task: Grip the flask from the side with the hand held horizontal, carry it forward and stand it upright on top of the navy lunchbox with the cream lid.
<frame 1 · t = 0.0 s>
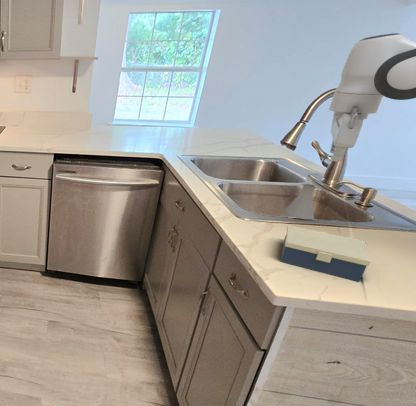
hand: (334, 156, 98), 21 cm above the worktop, tool pointing down, fingers open, 8 cm apart
flask: (298, 215, 113), on the worktop
lunchbox: (317, 261, 90), on the worktop
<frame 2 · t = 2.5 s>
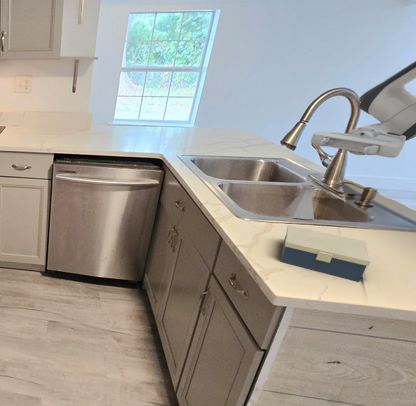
hand: (341, 146, 110), 20 cm above the worktop, tool horizontal, fingers open, 8 cm apart
nothing on the worktop moved.
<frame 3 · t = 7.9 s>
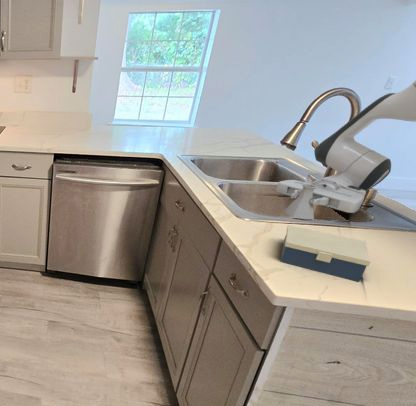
hand: (303, 199, 111), 6 cm above the worktop, tool horizontal, fingers closed on flask, 3 cm apart
flask: (298, 215, 113), on the worktop, touching gripper
when the fingers open (11 cm above the worktop, at t = 16.1 s): flask stays where it is, resting on lunchbox.
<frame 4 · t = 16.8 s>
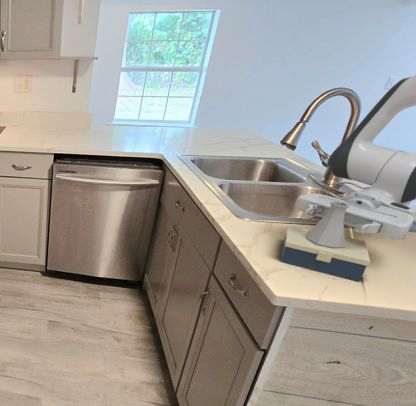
hand: (332, 221, 85), 11 cm above the worktop, tool horizontal, fingers open, 8 cm apart
flask: (324, 241, 88), point 5 cm above the worktop, touching lunchbox
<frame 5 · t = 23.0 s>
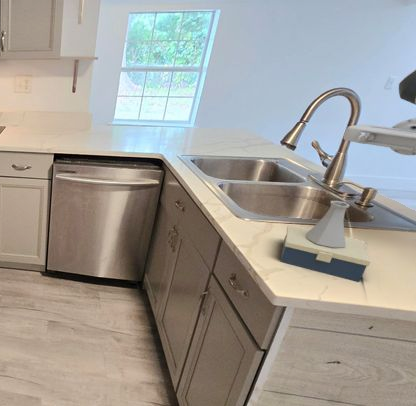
hand: (388, 144, 83), 28 cm above the worktop, tool horizontal, fingers open, 8 cm apart
nothing on the worktop moved.
at the end: flask inside the target area on the lunchbox (0.1 cm from its centre), point 5.4 cm above the lunchbox's base; flask tilted 0°; the gripper is holding nothing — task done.
